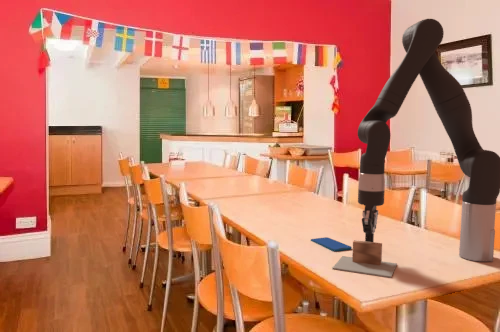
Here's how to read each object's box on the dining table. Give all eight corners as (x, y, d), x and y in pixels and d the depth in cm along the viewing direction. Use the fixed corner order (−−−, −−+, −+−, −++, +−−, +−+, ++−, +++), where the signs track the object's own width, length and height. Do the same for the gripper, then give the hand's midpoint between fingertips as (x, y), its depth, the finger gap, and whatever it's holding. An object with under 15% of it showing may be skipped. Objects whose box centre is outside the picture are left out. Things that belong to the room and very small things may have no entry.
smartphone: (327, 237, 160) (353, 247, 146) (327, 239, 160) (352, 250, 146) (309, 239, 157) (333, 249, 143) (309, 241, 157) (333, 252, 143)
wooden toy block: (381, 263, 131) (382, 243, 130) (380, 265, 129) (381, 245, 128) (353, 259, 134) (354, 239, 134) (352, 261, 132) (353, 241, 132)
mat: (396, 264, 131) (397, 263, 131) (391, 277, 120) (391, 276, 120) (342, 257, 138) (342, 255, 138) (332, 269, 127) (332, 267, 127)
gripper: (380, 192, 125) (378, 253, 127) (387, 186, 137) (385, 241, 139) (353, 190, 128) (351, 249, 130) (363, 184, 140) (361, 238, 142)
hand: (369, 245), depth 135 cm, fingers closed
